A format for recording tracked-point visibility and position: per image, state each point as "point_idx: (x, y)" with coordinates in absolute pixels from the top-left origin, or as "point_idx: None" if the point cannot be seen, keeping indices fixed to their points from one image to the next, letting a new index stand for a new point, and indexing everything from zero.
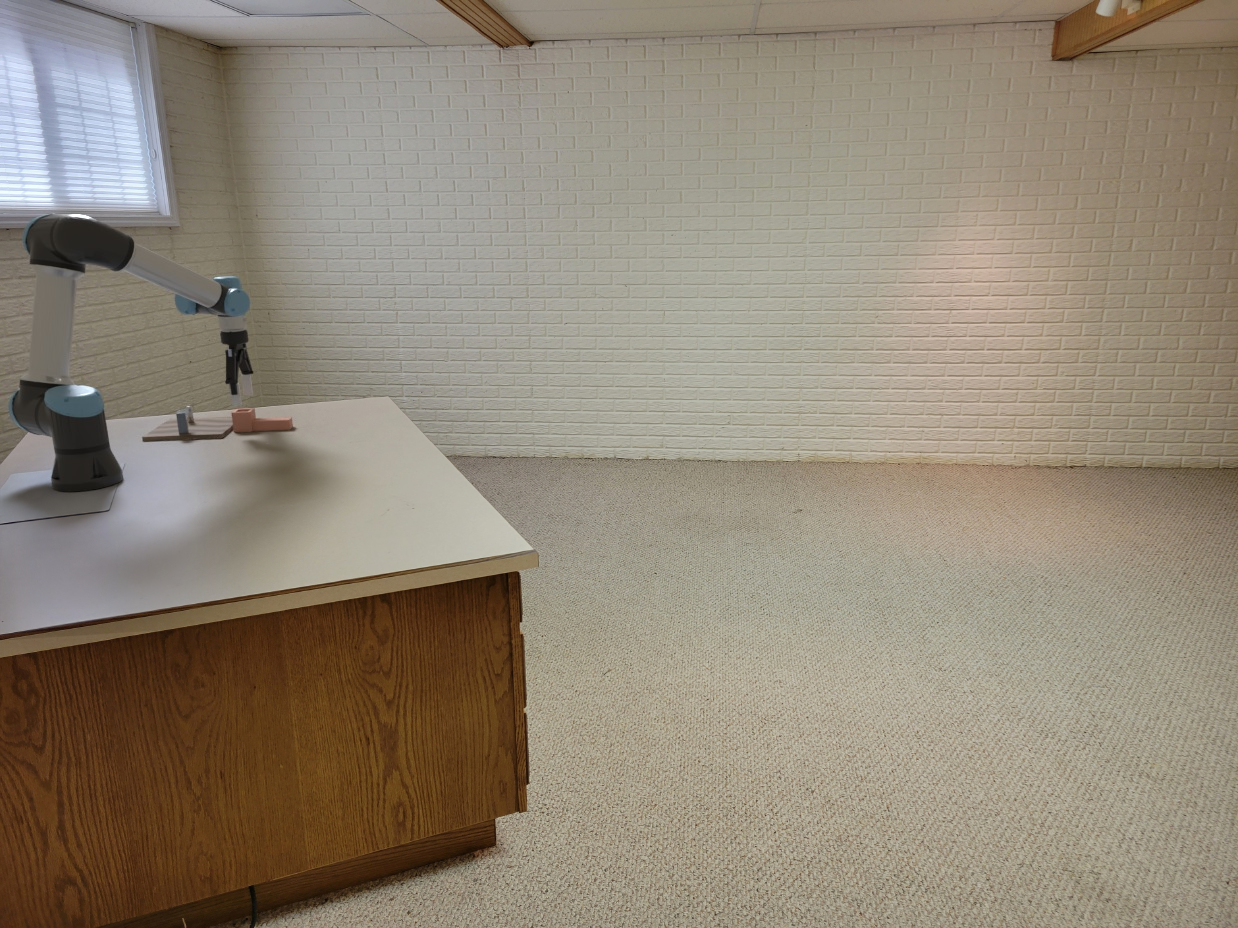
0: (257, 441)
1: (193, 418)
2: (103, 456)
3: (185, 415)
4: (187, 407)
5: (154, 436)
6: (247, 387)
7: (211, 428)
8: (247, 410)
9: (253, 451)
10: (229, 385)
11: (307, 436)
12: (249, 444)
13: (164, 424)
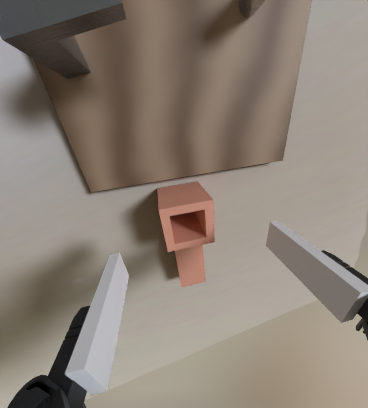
0: (89, 260)
1: (257, 7)
2: None
3: (15, 46)
4: None
5: None
6: (290, 256)
7: (152, 133)
8: (204, 227)
9: (11, 286)
10: (72, 358)
11: (138, 304)
12: (61, 258)
13: None
